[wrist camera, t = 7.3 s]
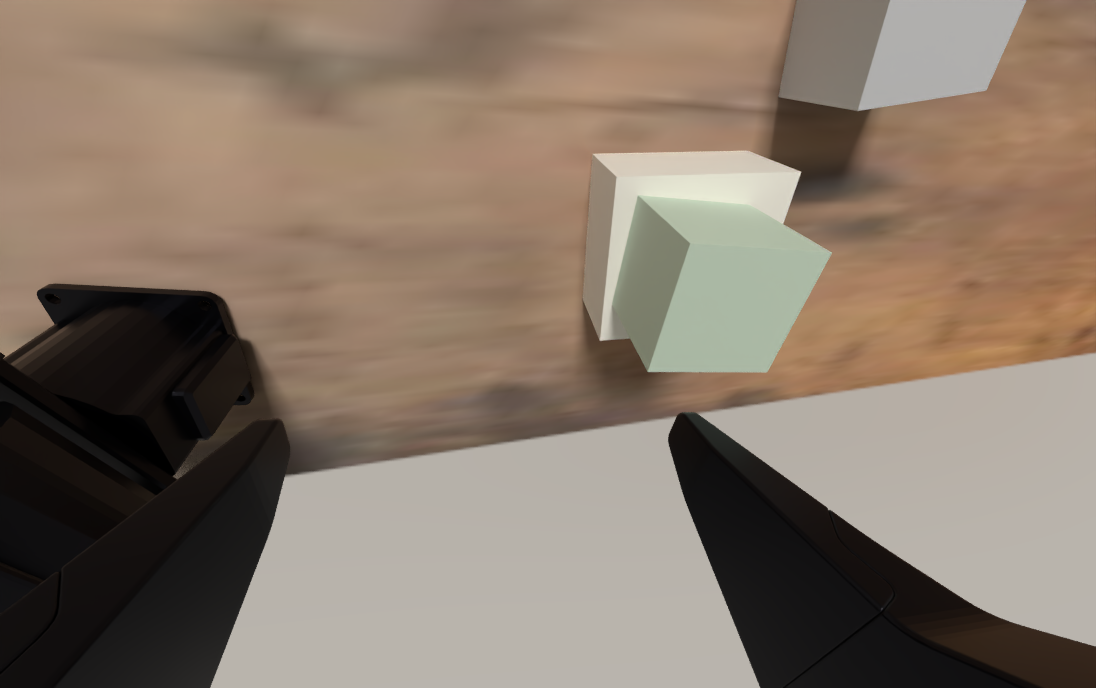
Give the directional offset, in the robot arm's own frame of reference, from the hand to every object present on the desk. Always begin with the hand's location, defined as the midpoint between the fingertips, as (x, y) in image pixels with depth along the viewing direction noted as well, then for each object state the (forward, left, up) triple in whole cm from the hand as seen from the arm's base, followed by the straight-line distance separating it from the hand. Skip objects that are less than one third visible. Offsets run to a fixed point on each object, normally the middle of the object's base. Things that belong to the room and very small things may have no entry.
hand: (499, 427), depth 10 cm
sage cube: (+7, +1, -8) cm, 11 cm away
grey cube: (+13, +10, -12) cm, 20 cm away
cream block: (+8, +1, -12) cm, 14 cm away
